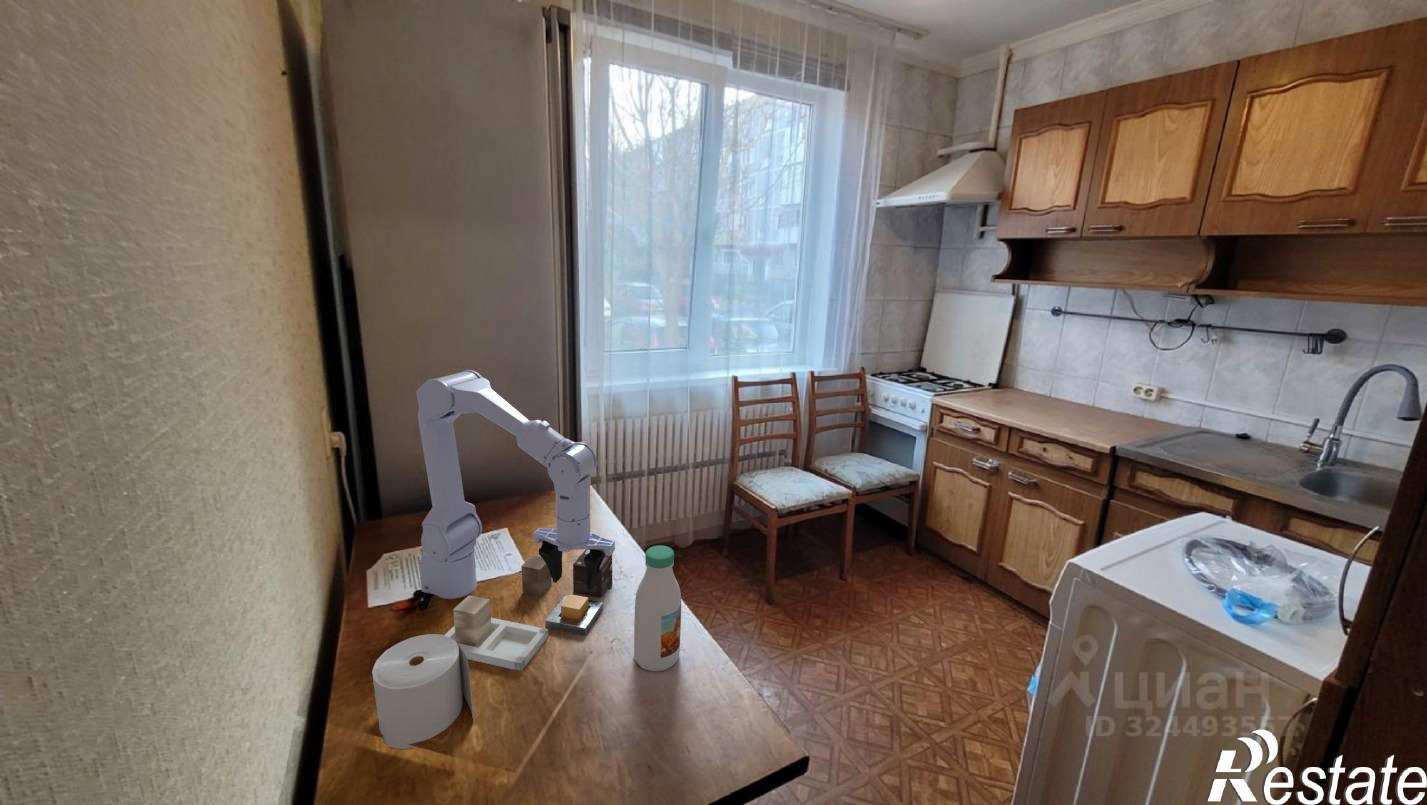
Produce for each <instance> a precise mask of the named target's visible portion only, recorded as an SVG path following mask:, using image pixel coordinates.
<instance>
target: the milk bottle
mask: <svg viewBox="0 0 1427 805" xmlns="http://www.w3.org/2000/svg"><path fill="white" fill-rule="evenodd" d="M674 560H675V552H674V550H673V549H672V548H671V547H669V546H666V545H653V546H651V547H648V549H646V552H645V560H644V561H645V563H644V565H645V567H646V569H645V572H644V575H643V577H642V579H641V581H640V582H639V584H638V586H637V589H636V593H635V600H634V601H635V602H634V625H633V627H634V632H633V633H634V634H633V658H634V659H635V662H636V663H637V665H638V666H639V667H640V668H642V669H644V670H646V671H648V672H662V671H665V670H668V669H670V668H672V667H673V666H674V665H675V664H676V663H677V662H678V660H679V658H680V650H681V648H680V647H681V646H680V645H681V628H682V627H681V625H682V592H681V588H680V586H679V583H678V580H677V579H676V576H675V574H674V571H673V566H674V564H675V563H674Z"/></svg>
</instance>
